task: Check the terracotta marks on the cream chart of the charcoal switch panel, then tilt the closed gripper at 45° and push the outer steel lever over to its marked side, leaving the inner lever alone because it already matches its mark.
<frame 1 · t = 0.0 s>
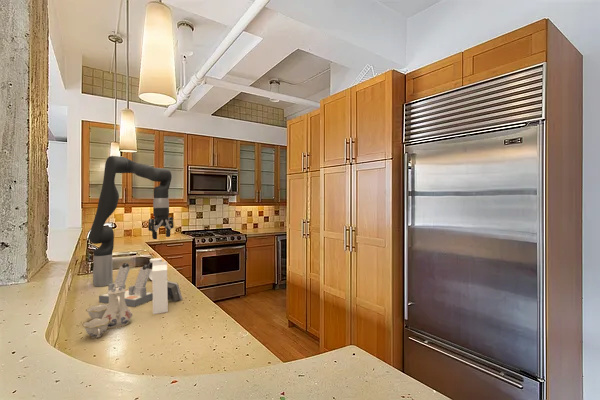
hand: (161, 237, 165), 29 cm above the countertop, tool pointing down, fingers open, 8 cm apart
chinaware: (108, 326, 126), on the countertop
electrical switch: (172, 300, 156), on the countertop
milk: (160, 311, 142), on the countertop
spread jar: (156, 279, 195), on the countertop
lever outer: (142, 278, 156), point 10 cm above the countertop, hinge at -25.0°
lever inner: (121, 276, 160), point 10 cm above the countertop, hinge at -25.0°
switch panel: (127, 300, 155), on the countertop
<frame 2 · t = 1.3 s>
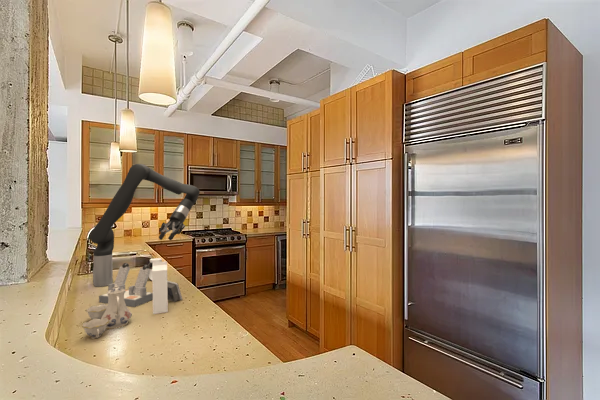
hand: (164, 239, 168), 28 cm above the countertop, tool tilted 45°, fingers open, 5 cm apart
nothing on the countertop moved.
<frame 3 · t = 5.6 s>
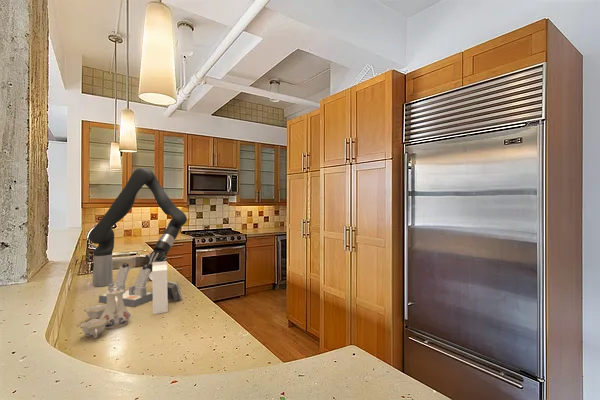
hand: (147, 272, 159), 13 cm above the countertop, tool tilted 45°, fingers closed
lever outer: (142, 278, 156), point 10 cm above the countertop, hinge at -25.0°, touching gripper
everything else where it was.
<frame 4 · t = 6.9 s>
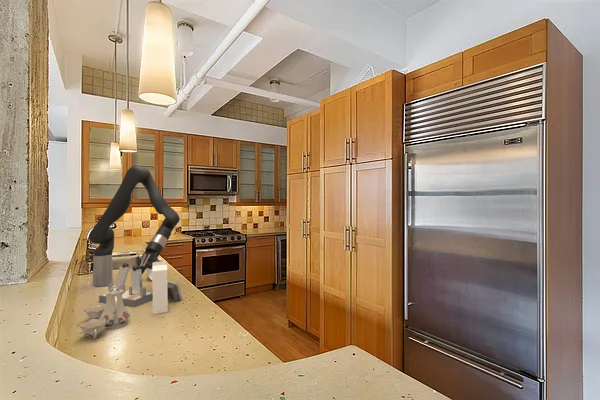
hand: (138, 274, 154), 13 cm above the countertop, tool tilted 45°, fingers closed
lever outer: (136, 279, 153), point 11 cm above the countertop, hinge at 3.9°, touching gripper
everything else where it was.
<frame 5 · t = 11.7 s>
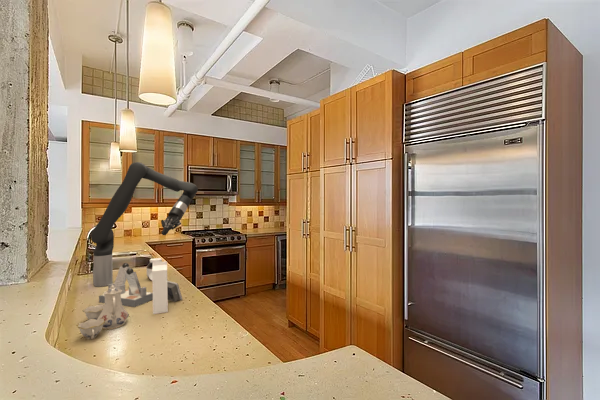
hand: (163, 234, 174), 30 cm above the countertop, tool tilted 45°, fingers closed
lever outer: (133, 281, 151), point 11 cm above the countertop, hinge at 19.7°
at the end: lever outer at +20° (first picture: -25°); lever inner at -25° (first picture: -25°) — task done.
